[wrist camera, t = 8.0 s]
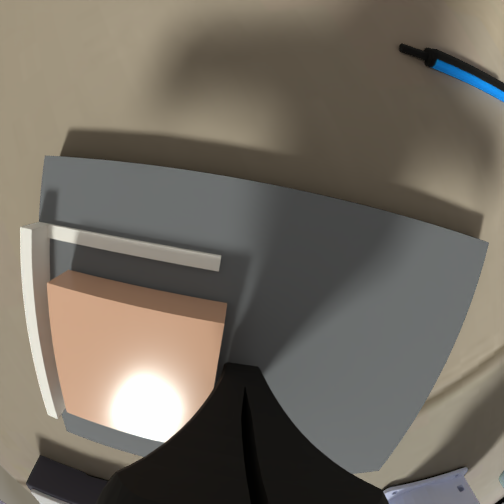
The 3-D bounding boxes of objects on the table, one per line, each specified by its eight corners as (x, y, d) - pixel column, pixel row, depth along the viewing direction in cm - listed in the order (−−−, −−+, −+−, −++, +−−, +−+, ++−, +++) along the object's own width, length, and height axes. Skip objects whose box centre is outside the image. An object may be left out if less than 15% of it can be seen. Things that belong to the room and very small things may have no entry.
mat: (475, 238, 11) (506, 249, 9) (373, 459, 14) (384, 484, 12) (59, 156, 10) (25, 154, 8) (73, 420, 13) (58, 444, 11)
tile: (224, 323, 9) (46, 282, 8) (203, 449, 10) (66, 411, 10) (227, 301, 10) (70, 268, 10) (207, 422, 11) (81, 390, 11)
